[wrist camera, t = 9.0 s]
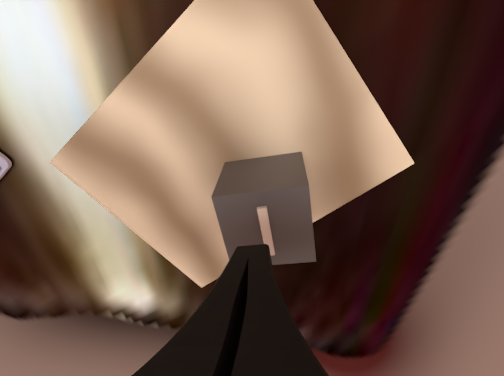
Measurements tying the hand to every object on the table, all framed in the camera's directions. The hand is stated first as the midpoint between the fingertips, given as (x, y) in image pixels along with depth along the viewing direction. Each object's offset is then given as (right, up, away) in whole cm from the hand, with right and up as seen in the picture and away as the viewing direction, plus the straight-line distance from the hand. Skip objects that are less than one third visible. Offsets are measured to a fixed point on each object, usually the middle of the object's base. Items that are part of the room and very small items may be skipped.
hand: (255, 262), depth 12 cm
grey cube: (+1, +3, +7) cm, 8 cm away
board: (-2, +6, +8) cm, 10 cm away
